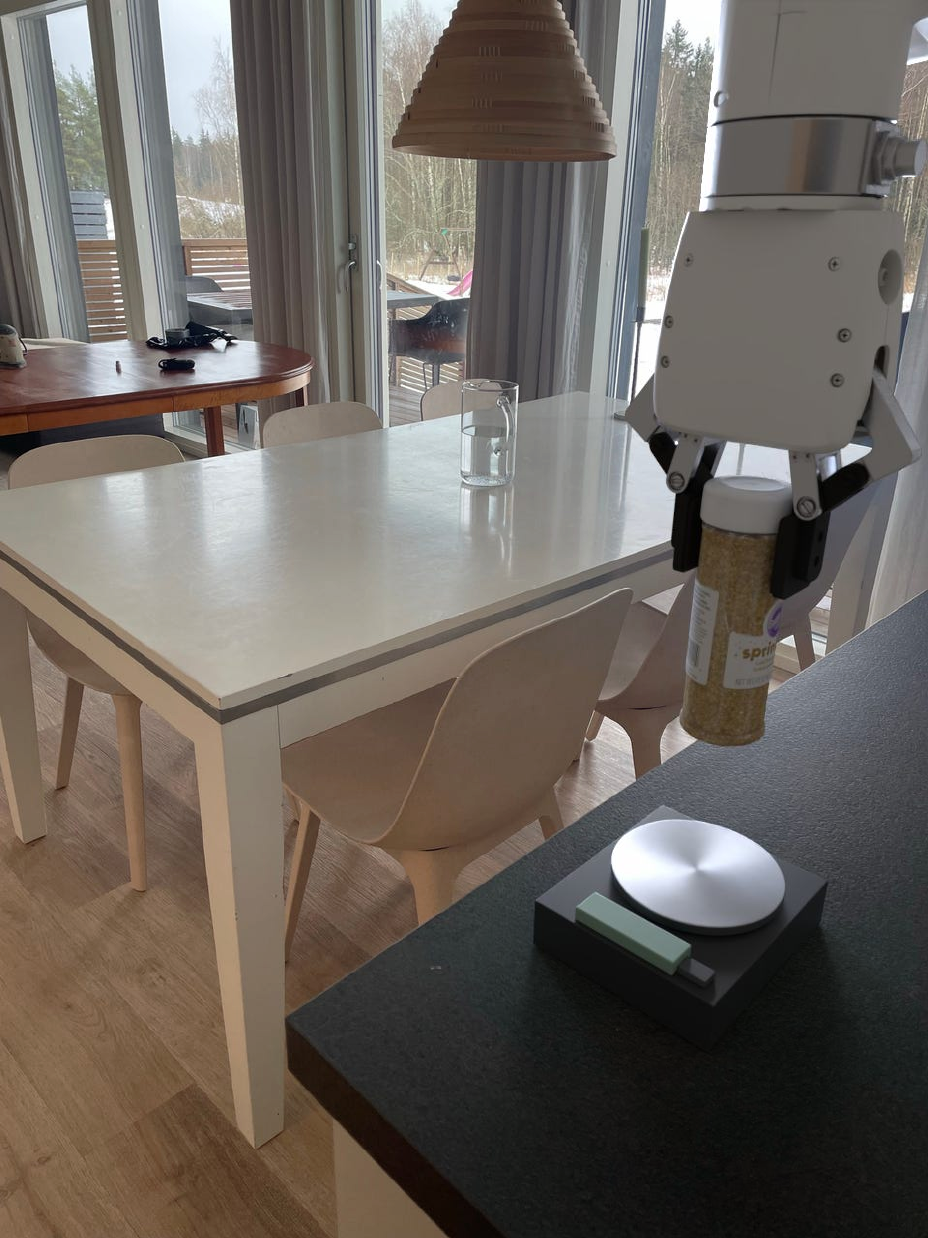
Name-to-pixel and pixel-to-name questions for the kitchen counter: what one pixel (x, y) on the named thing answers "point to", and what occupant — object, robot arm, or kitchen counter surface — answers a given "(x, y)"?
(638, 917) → the scale
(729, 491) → the sprinkles bottle
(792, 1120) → the kitchen counter surface
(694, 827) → the scale pan
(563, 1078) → the kitchen counter surface
